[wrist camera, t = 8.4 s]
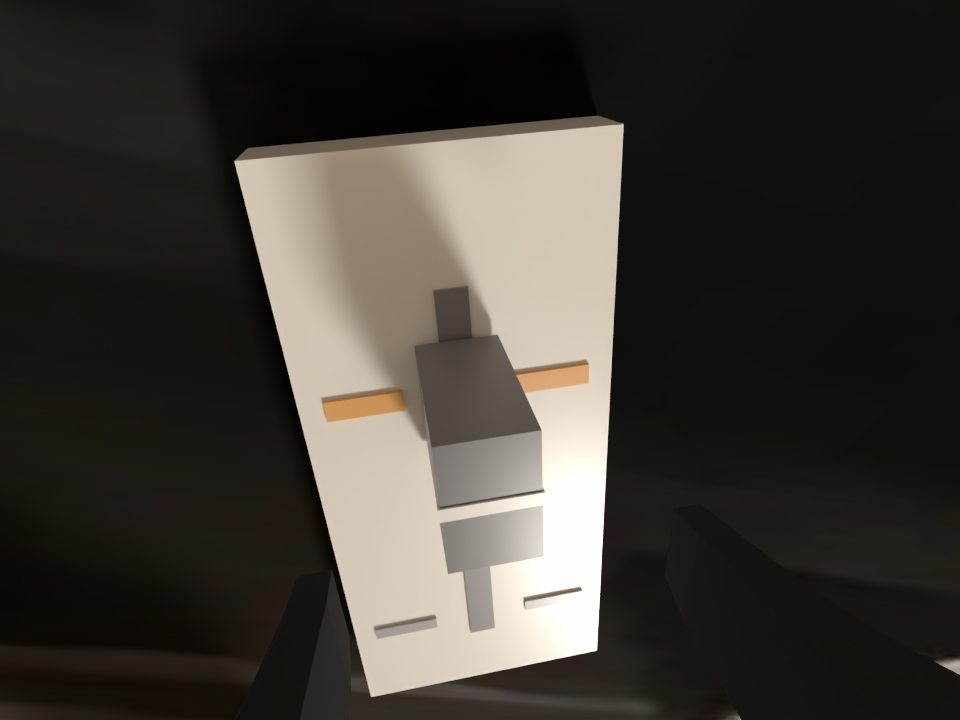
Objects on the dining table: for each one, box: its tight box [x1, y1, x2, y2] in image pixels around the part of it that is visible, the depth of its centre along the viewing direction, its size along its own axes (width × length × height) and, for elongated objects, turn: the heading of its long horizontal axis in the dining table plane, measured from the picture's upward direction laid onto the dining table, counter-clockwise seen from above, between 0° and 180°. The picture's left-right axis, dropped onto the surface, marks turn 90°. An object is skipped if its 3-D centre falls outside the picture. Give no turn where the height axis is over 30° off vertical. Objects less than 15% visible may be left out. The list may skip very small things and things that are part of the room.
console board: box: [234, 116, 624, 697], centre depth 21 cm, size 10×22×2 cm, turn 3°
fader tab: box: [414, 335, 545, 574], centre depth 16 cm, size 3×4×5 cm, turn 3°
